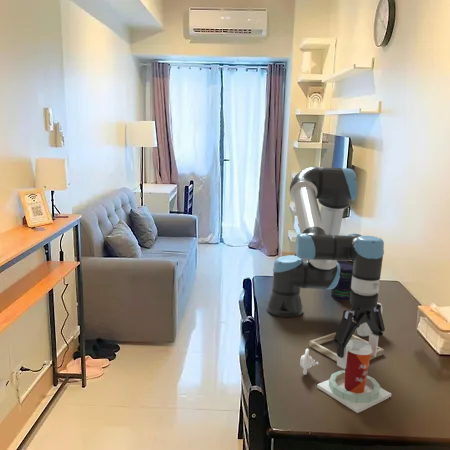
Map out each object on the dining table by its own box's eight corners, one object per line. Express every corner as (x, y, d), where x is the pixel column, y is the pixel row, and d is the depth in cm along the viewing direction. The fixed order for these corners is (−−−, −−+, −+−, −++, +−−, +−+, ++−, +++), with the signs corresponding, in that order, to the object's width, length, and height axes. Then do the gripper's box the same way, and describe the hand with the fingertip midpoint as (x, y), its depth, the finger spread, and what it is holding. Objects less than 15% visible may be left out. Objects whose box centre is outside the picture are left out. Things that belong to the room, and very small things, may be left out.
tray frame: (308, 346, 163) (309, 340, 163) (342, 334, 174) (343, 329, 173) (349, 368, 149) (349, 362, 149) (383, 354, 159) (383, 349, 159)
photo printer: (372, 328, 181) (375, 298, 178) (381, 332, 177) (385, 302, 175) (354, 333, 175) (357, 303, 173) (363, 338, 172) (367, 307, 169)
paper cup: (363, 398, 130) (369, 353, 127) (337, 390, 134) (341, 345, 131) (370, 386, 137) (376, 343, 134) (345, 378, 141) (350, 336, 138)
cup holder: (316, 387, 137) (317, 378, 136) (350, 373, 146) (350, 365, 145) (357, 413, 125) (358, 403, 125) (391, 396, 134) (392, 387, 133)
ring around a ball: (300, 366, 149) (302, 343, 147) (318, 369, 148) (320, 346, 146) (298, 378, 141) (300, 354, 140) (316, 381, 140) (319, 357, 139)
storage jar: (335, 291, 221) (338, 261, 218) (355, 296, 215) (358, 266, 212) (327, 297, 213) (330, 266, 210) (347, 302, 208) (350, 270, 204)
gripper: (345, 303, 119) (337, 378, 123) (402, 287, 133) (394, 355, 138) (323, 294, 125) (317, 366, 129) (380, 280, 139) (373, 345, 144)
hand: (356, 360), depth 133 cm, fingers open, 13 cm apart
